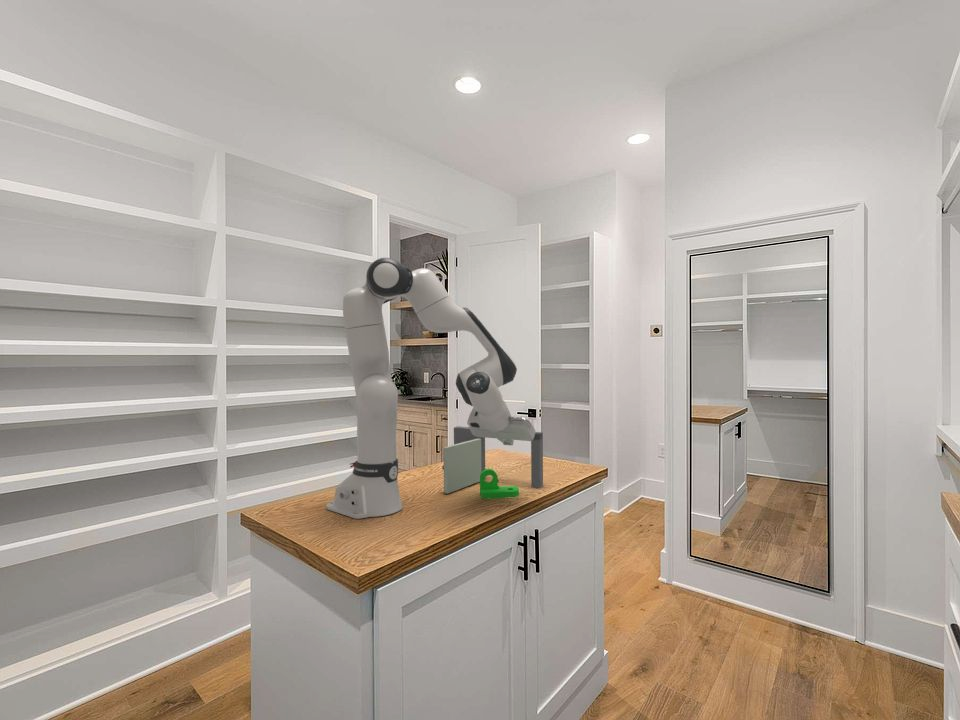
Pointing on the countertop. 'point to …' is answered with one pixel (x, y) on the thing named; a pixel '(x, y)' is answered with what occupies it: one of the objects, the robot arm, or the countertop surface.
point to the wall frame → (536, 452)
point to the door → (461, 465)
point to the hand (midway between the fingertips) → (508, 443)
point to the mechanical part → (495, 487)
